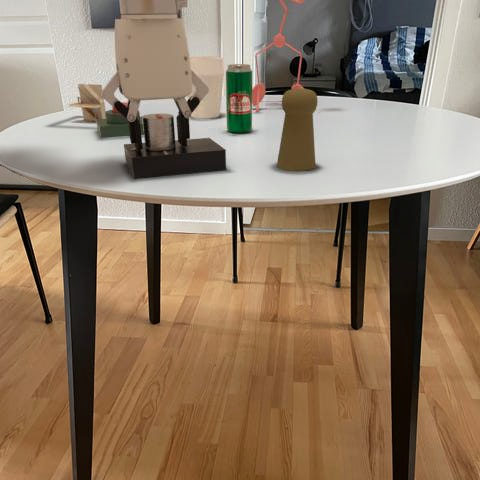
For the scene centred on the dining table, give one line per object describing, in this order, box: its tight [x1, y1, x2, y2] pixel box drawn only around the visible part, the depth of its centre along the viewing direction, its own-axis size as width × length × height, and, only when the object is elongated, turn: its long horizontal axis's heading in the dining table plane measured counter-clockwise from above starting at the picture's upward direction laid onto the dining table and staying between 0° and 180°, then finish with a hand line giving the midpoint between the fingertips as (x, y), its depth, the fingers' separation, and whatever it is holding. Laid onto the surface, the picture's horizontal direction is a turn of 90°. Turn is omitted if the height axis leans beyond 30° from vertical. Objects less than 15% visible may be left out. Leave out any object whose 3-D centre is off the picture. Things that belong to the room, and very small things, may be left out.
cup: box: [186, 56, 225, 120], centre depth 112 cm, size 9×9×12 cm
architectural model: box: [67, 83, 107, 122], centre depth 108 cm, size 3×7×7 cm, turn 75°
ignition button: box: [111, 101, 127, 113], centre depth 98 cm, size 4×4×2 cm
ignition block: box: [95, 109, 144, 139], centre depth 99 cm, size 10×8×4 cm
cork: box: [276, 87, 318, 172], centre depth 75 cm, size 6×6×11 cm
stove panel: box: [123, 137, 227, 179], centre depth 77 cm, size 14×9×3 cm, turn 109°
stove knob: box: [141, 112, 176, 151], centre depth 74 cm, size 5×5×5 cm
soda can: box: [225, 63, 253, 135], centre depth 97 cm, size 5×5×12 cm
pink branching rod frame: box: [252, 0, 321, 114], centre depth 116 cm, size 15×26×35 cm, turn 76°
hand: (160, 145), depth 75 cm, fingers open, 6 cm apart
